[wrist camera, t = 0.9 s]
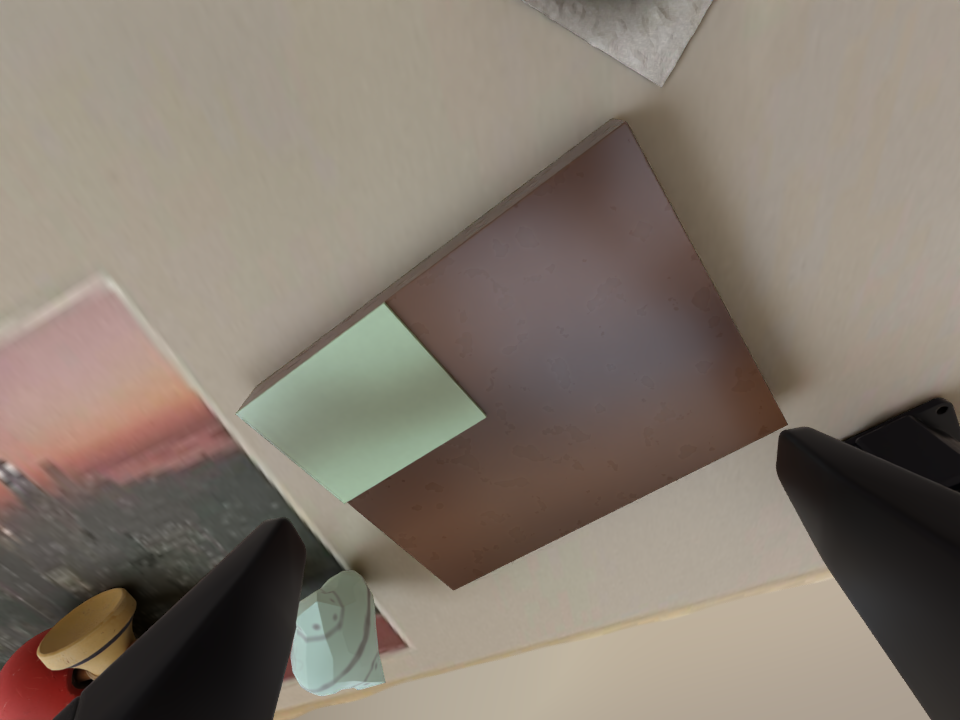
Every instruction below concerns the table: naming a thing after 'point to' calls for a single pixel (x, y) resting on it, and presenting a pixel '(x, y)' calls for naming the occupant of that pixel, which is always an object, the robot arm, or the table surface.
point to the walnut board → (525, 372)
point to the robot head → (337, 637)
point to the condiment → (631, 29)
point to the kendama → (66, 657)
